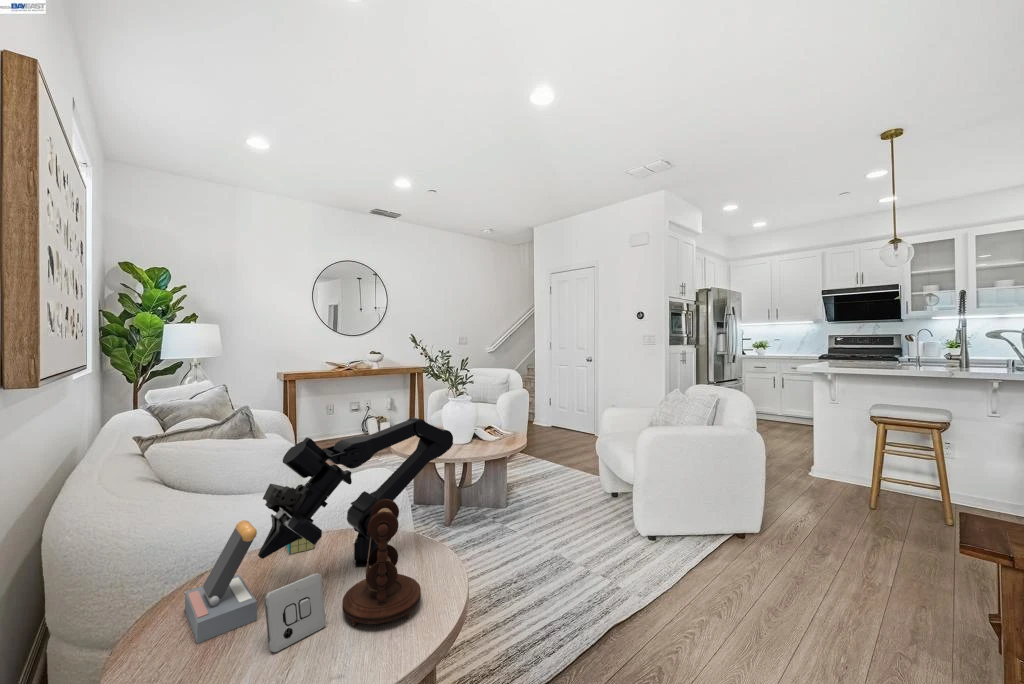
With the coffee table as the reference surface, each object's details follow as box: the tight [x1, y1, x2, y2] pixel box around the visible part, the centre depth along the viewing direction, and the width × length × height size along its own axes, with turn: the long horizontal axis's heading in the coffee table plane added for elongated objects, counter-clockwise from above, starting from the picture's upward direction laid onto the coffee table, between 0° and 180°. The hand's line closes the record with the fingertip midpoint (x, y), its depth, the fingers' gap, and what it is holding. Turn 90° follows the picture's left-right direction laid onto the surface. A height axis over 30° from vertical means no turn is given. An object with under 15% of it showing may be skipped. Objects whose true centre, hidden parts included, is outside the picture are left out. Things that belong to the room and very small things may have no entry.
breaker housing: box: [184, 574, 258, 644], centre depth 80 cm, size 9×13×4 cm
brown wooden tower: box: [341, 499, 422, 627], centre depth 83 cm, size 15×15×20 cm
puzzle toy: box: [286, 521, 316, 555], centre depth 107 cm, size 6×6×6 cm
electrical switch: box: [263, 572, 327, 653], centre depth 75 cm, size 9×5×9 cm, turn 141°
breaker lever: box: [202, 519, 258, 606], centre depth 81 cm, size 3×7×14 cm, turn 46°
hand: (260, 557), depth 85 cm, fingers closed
